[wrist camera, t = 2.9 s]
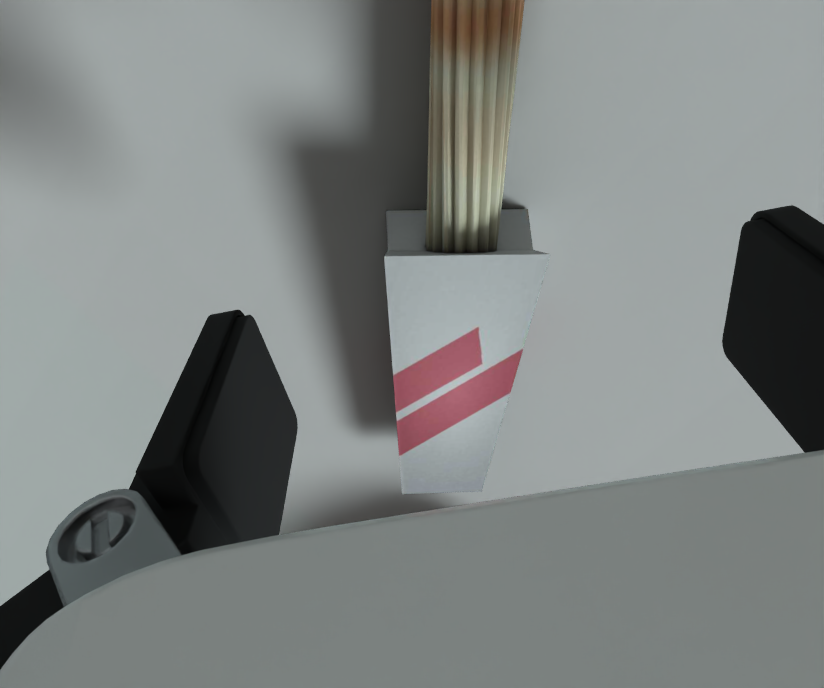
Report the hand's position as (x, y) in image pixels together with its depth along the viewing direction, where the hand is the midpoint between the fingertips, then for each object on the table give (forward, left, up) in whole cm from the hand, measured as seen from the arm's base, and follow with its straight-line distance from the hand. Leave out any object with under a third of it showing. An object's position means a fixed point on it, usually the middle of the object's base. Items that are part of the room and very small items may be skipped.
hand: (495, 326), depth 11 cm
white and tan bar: (-1, 0, -5) cm, 5 cm away
